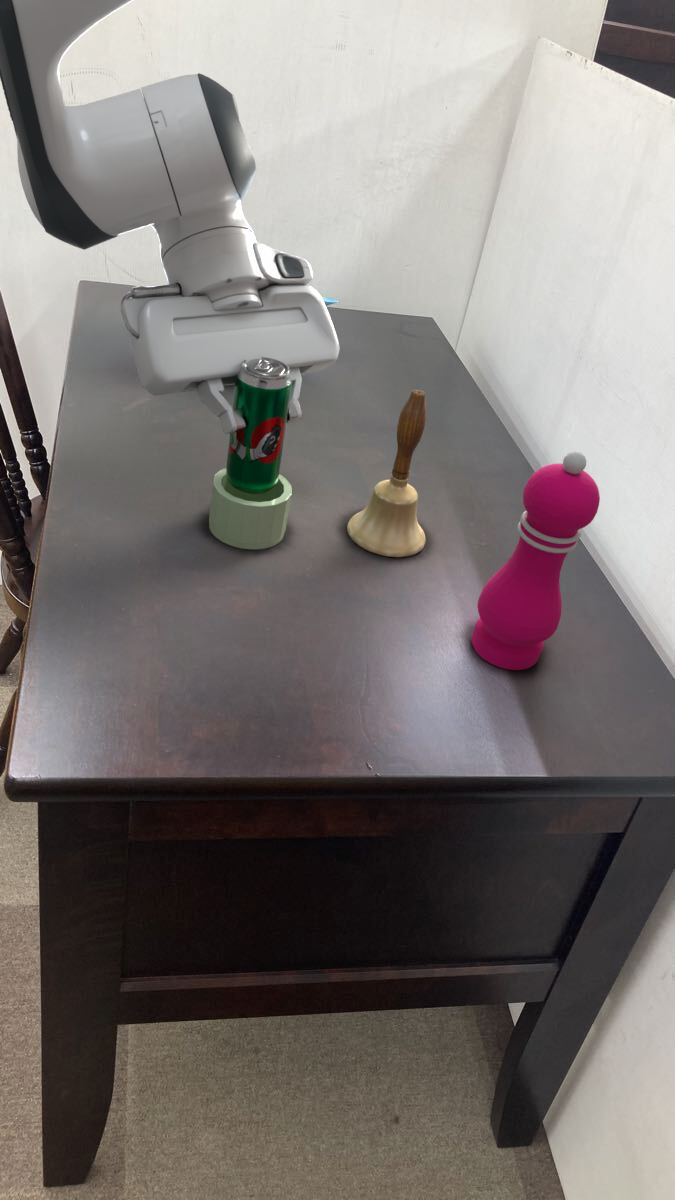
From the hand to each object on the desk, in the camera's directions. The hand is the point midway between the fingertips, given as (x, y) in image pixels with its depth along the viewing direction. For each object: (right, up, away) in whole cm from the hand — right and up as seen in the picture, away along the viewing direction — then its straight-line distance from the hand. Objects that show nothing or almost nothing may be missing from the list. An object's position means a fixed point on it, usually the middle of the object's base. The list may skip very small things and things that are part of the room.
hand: (265, 426), depth 82 cm
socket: (-2, -9, +7) cm, 12 cm away
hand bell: (+12, -9, +11) cm, 19 cm away
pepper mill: (+22, -20, -1) cm, 30 cm away
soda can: (-2, -5, +5) cm, 7 cm away
